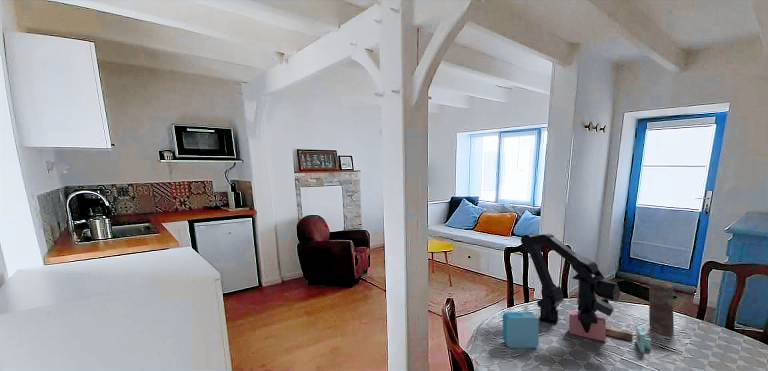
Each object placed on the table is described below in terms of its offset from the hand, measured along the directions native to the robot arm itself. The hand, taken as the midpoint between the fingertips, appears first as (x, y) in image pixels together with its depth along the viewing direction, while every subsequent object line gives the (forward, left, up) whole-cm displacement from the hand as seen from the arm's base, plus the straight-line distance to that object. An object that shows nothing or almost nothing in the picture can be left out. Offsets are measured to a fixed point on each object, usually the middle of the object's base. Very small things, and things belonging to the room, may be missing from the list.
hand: (586, 329), depth 120 cm
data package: (-22, -20, -3) cm, 30 cm away
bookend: (+18, 0, -2) cm, 18 cm away
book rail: (+6, +5, -2) cm, 9 cm away
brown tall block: (+26, +19, -2) cm, 32 cm away
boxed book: (0, 0, -2) cm, 2 cm away
